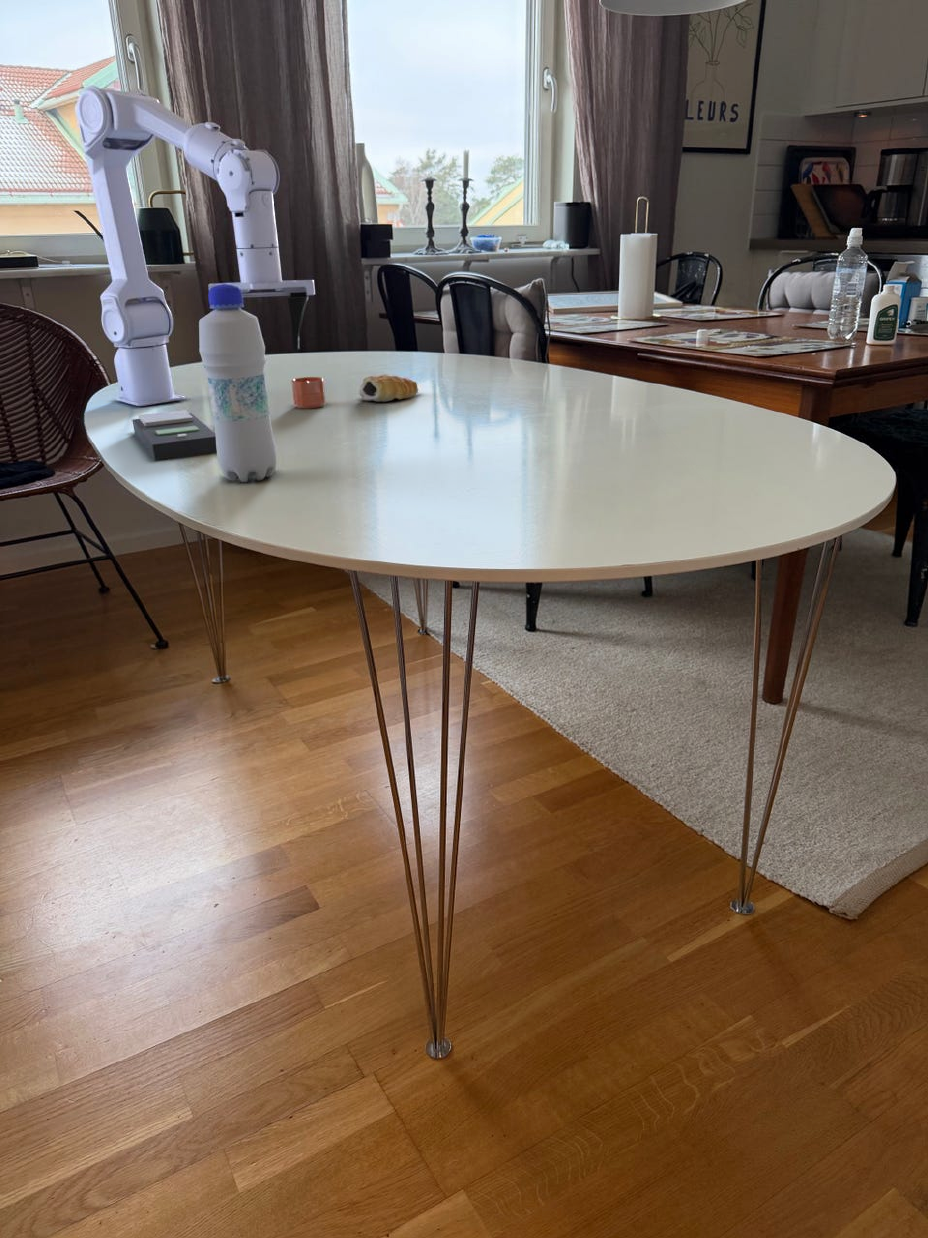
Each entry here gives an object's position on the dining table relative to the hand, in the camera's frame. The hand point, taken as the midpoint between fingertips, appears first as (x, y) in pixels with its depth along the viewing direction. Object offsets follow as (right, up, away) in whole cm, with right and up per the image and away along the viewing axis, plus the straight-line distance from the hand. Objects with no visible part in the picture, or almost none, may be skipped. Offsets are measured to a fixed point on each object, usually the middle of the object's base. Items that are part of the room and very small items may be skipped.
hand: (269, 349), depth 124 cm
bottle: (+4, -24, -29) cm, 38 cm away
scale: (-10, -16, -12) cm, 22 cm away
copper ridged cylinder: (+4, -6, +9) cm, 11 cm away
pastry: (+16, -4, +13) cm, 21 cm away
